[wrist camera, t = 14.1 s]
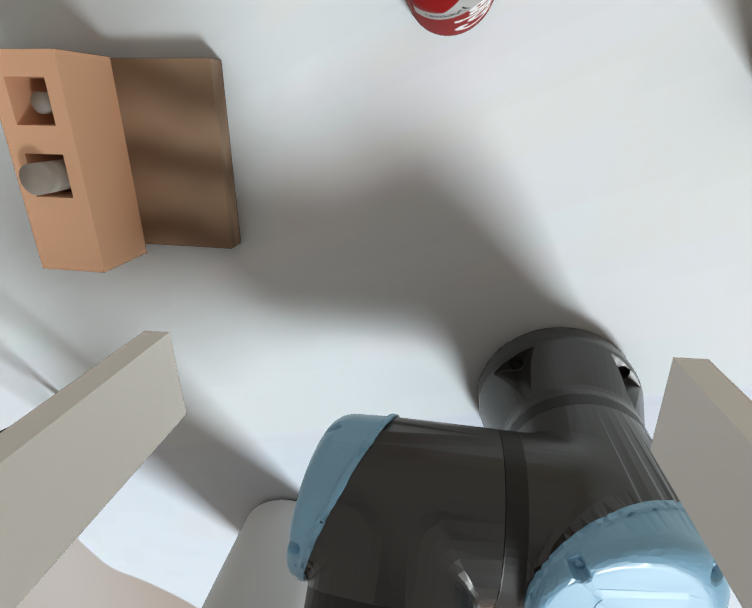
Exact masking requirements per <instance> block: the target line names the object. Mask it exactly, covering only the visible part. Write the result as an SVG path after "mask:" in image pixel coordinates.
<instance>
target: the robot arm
mask: <svg viewBox="0 0 752 608" xmlns="http://www.w3.org/2000/svg"><path fill="white" fill-rule="evenodd" d="M478 402H479V412H480V417H481V420H482V423H483V426H484V427H474V426H466V425H458V424H450V423H441V422H433V421H425V420H417V419H408V418H400V417H399V415H397V414H389V415H388V416H378V415H363V414H350V415H346V416H343V417H341V418H340V419H338V420H336V421H335V422H334V423H333V424H332V425H331V426H330V427H329V428H328V430H327V431H326V432H325V434H324V436H323V437H322V438H321V440H320V442H319V444H318V446H317V448H316V450H315V452H314V454H313V456H312V458H311V460H310V463H309V465H308V468H307V470H306V473H305V476H304V478H303V481H302V484H301V487H300V491H299V494H298V497H297V501H296V505H295V508H294V512H293V516H292V520H291V525H290V530H289V537H290V541H289V545H288V549H287V566H288V568H289V571H290V573H291V574H292V575H294V576H296V577H297V579H298V580H299V581H308V586H307V592H306V598H305V604H304V608H728V605H729V599H730V587H731V589H732V591H733V592H734V594H735V596H736V597H737V599H738V601H739V602H740V604H741V606H742V608H752V401H751V400H750V399H749V398H748V397H747V396H746V395H745V394H744V393H743V392H742V391H741V390H740V389H739V388H738V387H737V386H736V385H735V384H734V383H732V382H731V381H730V380H729V379H728V378H727V377H726V376H725V375H724V374H723V373H722V372H721V371H720V370H719V369H718V368H717V367H716V366H715V365H714V364H713V363H712V362H711V361H710V360H709V359H694V358H674V357H673V361H672V365H671V369H670V373H669V377H668V381H667V385H666V389H665V393H664V397H663V401H662V404H661V408H660V412H659V416H658V420H657V424H656V428H655V432H654V436H653V440H652V438H651V437H650V435H649V434H648V432H647V430H646V429H645V423H644V403H643V392H642V387H641V384H640V381H639V379H638V376H637V374H636V373H635V371H634V369H633V368H632V366H631V365H630V363H629V362H628V360H627V359H626V358H625V356H624V355H623V354H622V353H621V351H620V350H619V349H617V348H616V347H615V346H614V345H613V344H611V343H610V342H609V341H607V340H605V339H604V338H602V337H600V336H598V335H595V334H593V333H590V332H587V331H583V330H579V329H573V328H547V329H541V330H537V331H533V332H530V333H527V334H524V335H522V336H520V337H518V338H516V339H514V340H512V341H510V342H509V343H507V344H506V345H504V346H503V347H502V348H501V349H500V350H499V351H497V352H496V353H495V355H494V356H493V357H492V358H491V359H490V360H489V362H488V363H487V365H486V367H485V368H484V370H483V373H482V375H481V378H480V382H479V387H478ZM186 414H187V413H186V408H185V404H184V399H183V394H182V390H181V385H180V380H179V376H178V371H177V366H176V362H175V357H174V352H173V347H172V343H171V338H170V333H169V332H155V331H144V332H142V333H141V334H139V335H138V336H137V337H135V338H134V339H132V340H131V341H130V342H128V343H127V344H125V345H124V346H123V347H121V348H120V349H118V350H117V351H115V352H114V353H113V354H111V355H110V356H108V357H107V358H106V359H104V360H103V361H101V362H100V363H99V364H97V365H96V366H94V367H93V368H91V369H90V370H89V371H87V372H86V373H84V374H83V375H82V376H80V377H79V378H77V379H76V380H75V381H73V382H72V383H70V384H69V385H67V386H66V387H65V388H63V389H62V390H60V391H59V392H58V393H56V394H55V395H53V396H52V397H50V398H49V399H48V400H46V401H45V402H43V403H42V404H41V405H39V406H38V407H36V408H35V409H34V410H32V411H31V412H29V413H28V414H26V415H25V416H24V417H22V418H21V419H19V420H18V421H17V422H15V423H14V424H12V425H11V426H10V427H7V428H5V429H3V430H1V431H0V608H15V607H16V606H17V605H18V604H19V603H20V602H21V601H22V600H23V598H24V597H25V596H26V595H27V594H28V593H29V592H30V590H31V589H32V588H33V587H34V586H35V585H36V584H37V583H38V581H39V580H40V579H41V578H42V577H43V576H44V575H45V574H46V572H47V571H48V570H49V569H50V568H51V567H52V565H53V564H54V563H55V562H56V561H57V560H58V559H59V557H60V556H61V555H62V554H63V553H64V552H65V551H66V550H67V549H68V547H69V546H70V545H71V544H72V543H73V542H74V541H75V540H76V538H77V537H78V536H79V535H80V534H81V533H82V532H83V531H84V529H85V528H86V527H87V526H88V525H89V524H90V523H91V521H92V520H93V519H94V518H95V517H96V516H97V515H98V514H99V512H100V511H101V510H102V509H103V508H104V507H105V506H106V504H107V503H108V502H109V501H110V500H111V499H112V498H113V497H114V495H115V494H116V493H117V492H118V491H119V490H120V489H121V488H122V486H123V485H124V484H125V483H126V482H127V481H128V480H129V478H130V477H131V476H132V475H133V474H134V473H135V472H136V471H137V469H138V468H139V467H140V466H141V465H142V464H143V463H144V461H145V460H146V459H147V458H148V457H149V456H150V455H151V454H152V452H153V451H154V450H155V449H156V448H157V447H158V446H159V444H160V443H161V442H162V441H163V440H164V439H165V438H166V437H167V435H168V434H169V433H170V432H171V431H172V430H173V429H174V428H175V426H176V425H177V424H178V423H179V422H180V421H181V420H182V418H183V417H184V416H185V415H186Z"/></svg>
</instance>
